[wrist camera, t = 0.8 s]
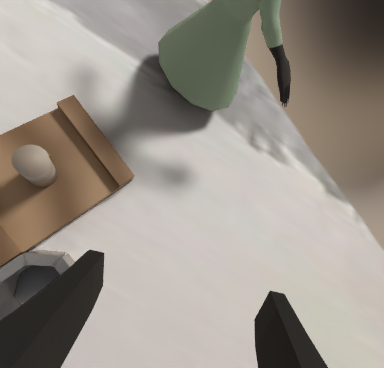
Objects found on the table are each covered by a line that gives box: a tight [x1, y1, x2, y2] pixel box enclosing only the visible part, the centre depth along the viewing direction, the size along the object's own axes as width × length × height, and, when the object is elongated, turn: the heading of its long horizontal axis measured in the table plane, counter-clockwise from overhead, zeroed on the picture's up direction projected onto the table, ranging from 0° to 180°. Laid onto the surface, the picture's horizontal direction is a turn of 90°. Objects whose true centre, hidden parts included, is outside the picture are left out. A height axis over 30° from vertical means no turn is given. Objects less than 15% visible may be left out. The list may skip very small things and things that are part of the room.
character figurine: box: [158, 0, 291, 111], centre depth 22 cm, size 16×8×18 cm, turn 43°
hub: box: [0, 250, 75, 320], centre depth 18 cm, size 6×6×4 cm
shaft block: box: [0, 95, 134, 267], centre depth 20 cm, size 12×9×6 cm
